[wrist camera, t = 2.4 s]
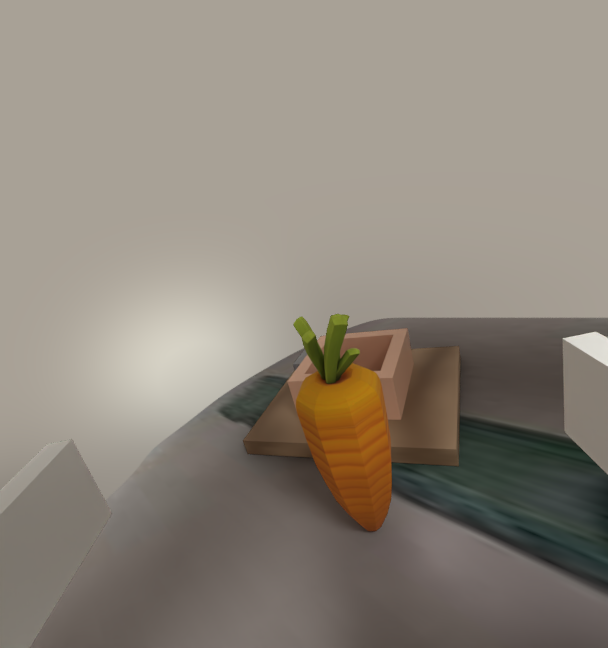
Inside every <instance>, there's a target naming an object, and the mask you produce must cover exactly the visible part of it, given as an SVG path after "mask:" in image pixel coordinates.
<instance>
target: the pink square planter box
mask: <svg viewBox="0 0 608 648" xmlns="http://www.w3.org/2000/svg"><path fill="white" fill-rule="evenodd" d="M325 338H326V336H320V338H319V339H318V340H317V342H318V344H319V346H320V348H321V350H322V352H323V354H324V344H325ZM351 348H356V349H358V350H359V351H360V354H359V355H358V356H357V358H356V359H355V360H354V361H353V363H354V364H356V365H359V366H362V367H364V368H367V369H369V370H371V371H373V372H375V373H377V375H378V377H379V378H380V381H381V385H382V390H383V395H384V401H385V406H386V412H387V418H388V420H401V418H402V414H403V409H404V405H405V400H406V396H407V392H408V387H409V383H410V378H411V374H412V369H413V365H414V362H413V356H412V350H411V345H410V339H409V334H408V328H405V329H394V330H383V331H372V332H360V333H349V334H345V337H344V340H343V343H342V347H341V350H340V359H341V357H342V356H343V354H344V353H345V352H346V350H348V349H351ZM293 366H294V369H295V372H294V373H293V375H292V376H291V377H290V379H289V380H288V381H287V382H288V385H289V388H290V391H291V395H292V398H293V401H294V404H295V408H296V398H297V396H298V393H299V390H300V388H301V385H302V382H303V381H304V379H305V378H306V377H308V376H309V375H311V374H313V373H315V372H317V371H318V370H317V369H316V367H315V366H314V364H313V363H312V361H311V360H310V358H309V357H308V355H307V353H306V350H303V352H302V353H301V354H300V356H299V357H298V358H297V360H296V361H295V362H294V364H293ZM296 411H297V410H296Z"/></svg>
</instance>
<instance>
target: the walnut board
mask: <svg viewBox="0 0 608 648" xmlns="http://www.w3.org/2000/svg"><path fill="white" fill-rule="evenodd" d="M411 350H412V356H413V362H414V365H413V369H412V374H411V378H410V383H409V387H408V392H407V396H406V400H405V405H404V409H403V414H402V418H401V420H388V425H389V431H390V438H391V462H396V463H414V464H431V465H448V466H459V424H460V364H461V358H460V350H459V346H450V347H435V348H420V349H411ZM294 372H295V370H294ZM294 372H293V373H294ZM293 373H292V375H293ZM292 375H291V376H292ZM291 376H290V377H291ZM290 377H289V379H290ZM289 379H288V380H289ZM288 380H287V381H288ZM287 381H286V383H285V384H284V385H283V387H282V388H281V390H280V391H279V392H278V394H277V395H276V396H275V398H274V399H273V400H272V402H271V403H270V404H269V406H268V407H267V409H266V410H265V411H264V413H263V414H262V415H261V417H260V418H259V419H258V421H257V422H256V424H255V425H254V426H253V428H252V429H251V430H250V432H249V433H248V434H247V436H246V437H245V438H244V440H243V442H244V445H245V447H246V450H247V453H248V454H259V455H276V456H293V457H310V458H313V456H312V453H311V451H310V448H309V446H308V443H307V440H306V438H305V435H304V432H303V429H302V426H301V423H300V420H299V417H298V414H297V411H296V408H295V404H294V401H293V398H292V395H291V391H290V388H289V385H288V382H287Z"/></svg>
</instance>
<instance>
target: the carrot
mask: <svg viewBox="0 0 608 648" xmlns="http://www.w3.org/2000/svg"><path fill="white" fill-rule="evenodd" d="M348 318H349V316H348V315H340V314H335V315H332V316H331V317H330V321H329V324H328V328H327V333H326V338H325V344H324V354H323V352H322V350H321V348H320V346H319V344H318V342H317V339H316V335H315V334H314V332H313V331H312V329H311V328H310V326H309V324H308V323H307V321H306V320H305V319H304V318H303V317H300V318H298V319H297V320H296V321H295V323H294V327H295V328H296V330H297V331H298V333H299V334H300V336H301V337H302V341H303V345H304V348H305V350H306V353H307V355H308V357H309V358H310V360H311V361H312V363H313V364H314V366H315V367H316V369H317V370H318V371H317V372H315V373H313V374H311V375H309V376H308V377H306V378H305V379H304V381H303V382H302V385H301V388H300V390H299V393H298V396H297V398H296V410H297V414H298V417H299V420H300V423H301V426H302V429H303V432H304V435H305V438H306V440H307V443H308V446H309V448H310V451H311V453H312V456H313V459H314V461H315V464H316V466H317V468H318V470H319V472H320V473H321V475H322V477H323V479H324V481H325V483H326V484H327V486H328V488H329V489H330V491H331V493H332V494H333V496H334V497H335V499H336V501H337V502H338V503H339V504H340V505H341V506H342V508H343V509H344V510H345V511H346V512H347V513H348V514H349V515H350V516H351V517H352V518H353V519H354V520H355V521H357V522H358V523H359V524H360V525H361V526H362V527H364V528H365V529H366V530H368V531H377V530H378V529H379V528H380V527H381V526H382V524H383V522H384V520H385V518H386V516H387V513H388V509H389V505H390V502H391V486H392V473H391V438H390V431H389V425H388V418H387V412H386V406H385V401H384V395H383V390H382V385H381V381H380V378H379V377H378V375H377V373H375V372H373V371H371V370H369V369H367V368H364V367H362V366H359V365H356V364H354V363H353V361H354V360H355V359H356V358H357V356H358V355H359V354H360V351H359V350H358V349H356V348H351V349H348V350H346V352H345V353H344V354H343V356H342V357H341V359H340V350H341V347H342V343H343V340H344V337H345V333H346V330H347V326H348V323H347V321H348Z"/></svg>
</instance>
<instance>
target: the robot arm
mask: <svg viewBox="0 0 608 648" xmlns="http://www.w3.org/2000/svg"><path fill="white" fill-rule="evenodd" d="M563 379H564V427H565V433H566V434H567V435H568V436H569V437H570V438H571V439H572V440H573V441H574V442H575V443H576V444H577V445H578V446H579V447H580V448H581V449H582V450H583V451H584V452H585V453H586V454H587V455H589V456H590V457H591V458H592V459H593V460H594V461H595V462H596V463H597V464H598V465H599V466H600V467H601V468H602V469H603V470H604V471H605V472H606V473H607V474H608V338H607V337H605V336H603V335H601V334H599V333H597V332H592V333H587V334H582V335H577V336H572V337H567V338H563ZM111 514H112V512H111V510H110V508H109V507H108V505H107V503H106V501H105V499H104V498H103V496H102V494H101V492H100V490H99V488H98V486H97V484H96V483H95V481H94V479H93V477H92V475H91V473H90V471H89V470H88V468H87V466H86V464H85V462H84V460H83V458H82V457H81V455H80V453H79V451H78V450H77V447H76V446H75V444H74V442H73V440H72V439H70V440H65V441H60V442H56V443H51V444H47V445H46V446H45V447H44V448H43V449H42V450H41V451H40V452H39V453H38V454H37V455H36V456H35V457H34V458H33V459H32V460H31V461H30V462H29V463H28V464H27V465H25V466H24V467H23V468H22V469H21V470H20V471H19V473H17V474H16V475H15V476H14V477H13V478H12V479H11V480H10V481H9V482H8V483H7V484H6V485H5V486H4V487H3V488H2V489H1V490H0V648H30V647H31V645H32V643H33V642H34V640H35V638H36V637H37V635H38V633H39V632H40V630H41V629H42V627H43V625H44V624H45V622H46V620H47V619H48V617H49V616H50V614H51V612H52V611H53V609H54V607H55V606H56V604H57V603H58V601H59V599H60V598H61V596H62V594H63V593H64V591H65V589H66V588H67V586H68V585H69V583H70V581H71V580H72V578H73V576H74V575H75V573H76V572H77V570H78V568H79V567H80V565H81V563H82V562H83V560H84V558H85V557H86V555H87V554H88V552H89V550H90V549H91V547H92V545H93V544H94V542H95V541H96V539H97V537H98V536H99V534H100V532H101V531H102V529H103V528H104V526H105V524H106V523H107V521H108V519H109V518H110V516H111Z"/></svg>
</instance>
